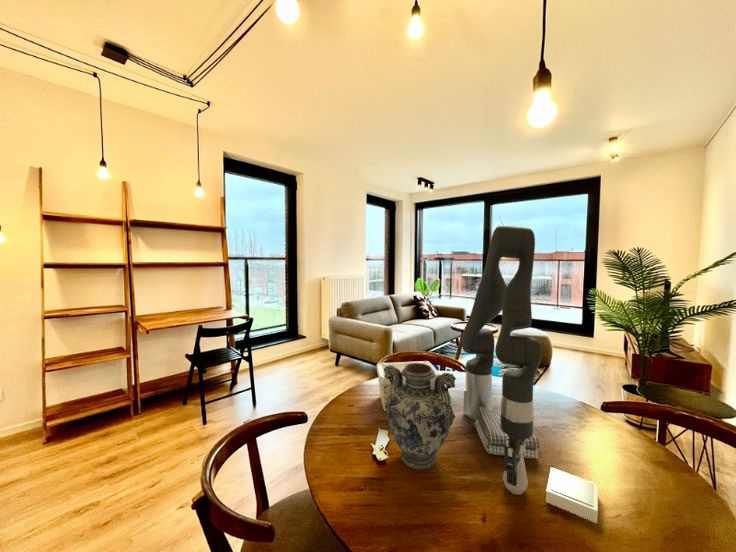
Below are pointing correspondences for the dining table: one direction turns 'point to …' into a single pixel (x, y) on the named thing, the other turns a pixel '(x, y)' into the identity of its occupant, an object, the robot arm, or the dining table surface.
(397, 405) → the decorative vase
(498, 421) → the towel
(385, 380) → the cream box
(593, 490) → the pedestal
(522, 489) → the salt shaker
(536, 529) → the dining table surface
